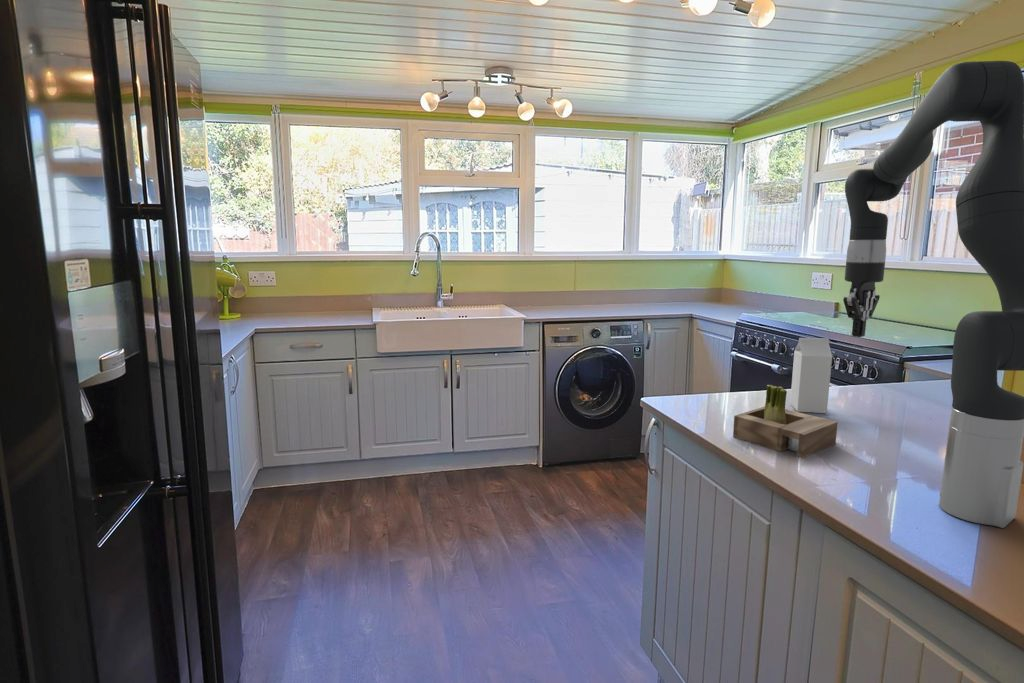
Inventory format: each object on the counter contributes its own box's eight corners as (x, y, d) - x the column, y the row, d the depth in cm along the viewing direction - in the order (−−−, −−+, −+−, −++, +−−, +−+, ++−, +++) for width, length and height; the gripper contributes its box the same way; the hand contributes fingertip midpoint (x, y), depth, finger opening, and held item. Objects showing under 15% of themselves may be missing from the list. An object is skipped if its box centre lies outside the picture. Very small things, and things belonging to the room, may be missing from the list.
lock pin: (834, 440, 127) (836, 424, 126) (803, 453, 119) (805, 436, 119) (816, 435, 130) (818, 419, 130) (785, 448, 123) (786, 431, 122)
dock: (835, 443, 126) (837, 421, 125) (802, 457, 118) (804, 434, 117) (767, 425, 138) (768, 405, 138) (733, 436, 130) (734, 415, 130)
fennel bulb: (759, 432, 133) (763, 382, 131) (782, 434, 132) (786, 383, 130) (765, 441, 128) (769, 389, 125) (789, 442, 127) (793, 390, 124)
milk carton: (827, 413, 147) (833, 341, 144) (797, 412, 149) (803, 340, 145) (818, 405, 154) (824, 336, 151) (789, 404, 155) (795, 335, 152)
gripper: (870, 261, 122) (862, 341, 125) (896, 260, 129) (888, 335, 132) (833, 260, 128) (827, 337, 131) (861, 259, 135) (854, 332, 138)
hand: (858, 336), depth 131 cm, fingers closed
